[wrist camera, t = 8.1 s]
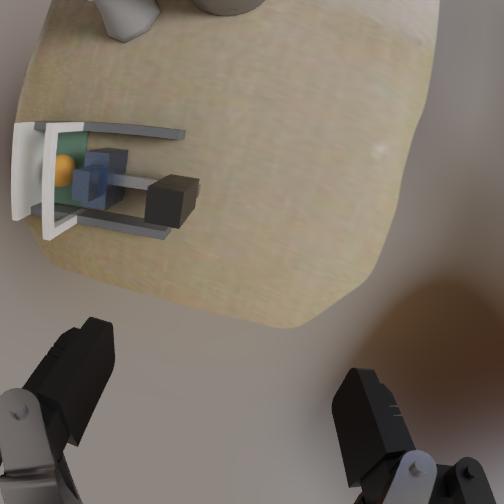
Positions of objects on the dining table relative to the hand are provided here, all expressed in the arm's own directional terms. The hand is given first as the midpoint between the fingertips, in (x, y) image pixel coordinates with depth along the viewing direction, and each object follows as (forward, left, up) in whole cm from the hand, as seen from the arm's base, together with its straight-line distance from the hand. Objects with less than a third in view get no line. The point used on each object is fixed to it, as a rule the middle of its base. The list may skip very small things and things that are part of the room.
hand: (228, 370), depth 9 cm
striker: (0, -11, -26) cm, 28 cm away
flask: (-20, -18, -27) cm, 38 cm away
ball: (0, -23, -24) cm, 33 cm away
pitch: (0, -18, -26) cm, 32 cm away
